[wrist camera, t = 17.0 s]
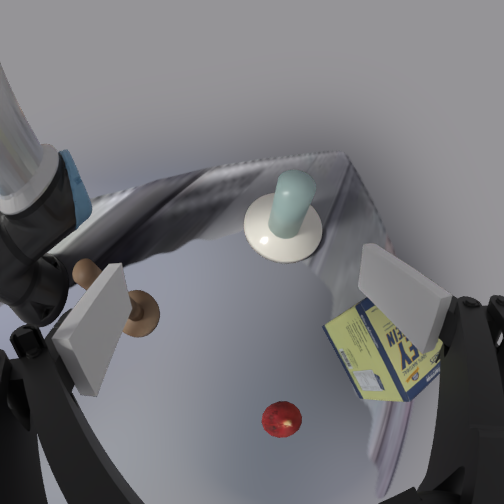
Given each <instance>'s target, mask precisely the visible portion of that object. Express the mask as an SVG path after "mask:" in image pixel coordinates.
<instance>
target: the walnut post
mask: <svg viewBox="0 0 504 504" xmlns="http://www.w3.org/2000/svg"><path fill="white" fill-rule="evenodd" d="M101 273H102V270H101V269H100V268H99V267H98V266H97V265H96V264H94V263H93V262H92V261H91V260H90V259H81V260H80V261H78V262H77V263H76V265H75V266H74V268H73V279H74V281H75V282H76V283H77V284H79V285H80V286H81V287H83V288H84V289H86V290H88V289H89V287H90V286H91V285H92V284H93V282H94V281H95V280H96V279H97V278H98V276H99V275H100V274H101ZM128 294H129V298H130V302H131V306H132V311H131V313H130V315H129V317H128V320H127V322H126V324H125V327H124V329H123V332H124V333H126V334H127V335H130V336H132V337H144V336H147V335H148V334H150V333H151V332H152V331H153V330H154V329H155V328H156V326H157V325H158V322H159V318H160V311H159V306H158V304H157V302H156V301H155V299H154V298H153V297H152V296H151V295H149V294H148V293H146V292H144V291H141V290H134V291H130V292H128Z"/></svg>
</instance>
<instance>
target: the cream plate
mask: <svg viewBox="0 0 504 504" xmlns="http://www.w3.org/2000/svg"><path fill="white" fill-rule="evenodd" d="M274 195H275V193H270V194H266V195H264V196H261V197H260V198H258V199H257V200H255V201H254V202H253V203H252V204H251V205H250V206H249V208H248V210H247V212H246V214H245V219H244V233H245V236H246V239H247V241H248V243H249V244H250V246H251V247H252V248H253V249H254V250H255V251H256V252H257V253H258V254H259V255H261V256H262V257H264V258H265V259H268V260H270V261H273V262H276V263H285V264H289V263H296V262H299V261H302V260H304V259H306V258H307V257H309V256H310V255H311V254H312V253H313V252H314V251H315V250H316V248H317V247H318V245H319V243H320V241H321V238H322V223H321V220H320V217H319V215H318V214H317V212H316V211H315V209H314V208H313V207H312V206H311V205H310V206H309V208H308V211H307V213H306V216H305V218H304V220H303V223H302V225H301V227H300V229H299V232H298V233H297V235H295V236H294V237H292V238H289V239H283V238H279V237H277V236H275V235H274V234H273V233H272V232H271V231H270V229H269V226H268V221H269V217H270V213H271V208H272V204H273V199H274Z"/></svg>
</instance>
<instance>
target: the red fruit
mask: <svg viewBox="0 0 504 504" xmlns="http://www.w3.org/2000/svg"><path fill="white" fill-rule="evenodd" d="M301 423H302V416H301V414H300V411H299V409H298V408H297V407H296V406H295V405H294V404H291V403H289V402H287V401H282V402H281V401H279V402H277V403H274V404H271V405H270V406H269V407H267V408H266V410H265V411H264V413H263V416H262V424H263V427H264V430H265V431H267V432H268V433H269V434H270V435H271V436H275V437H278V438H280V437H288V436H290V435H292V434H294V433H295V432H296V431H298V430H299V428H300V425H301Z"/></svg>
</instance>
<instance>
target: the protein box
mask: <svg viewBox="0 0 504 504" xmlns="http://www.w3.org/2000/svg"><path fill="white" fill-rule="evenodd" d="M322 328H323V330H324V331H325V333H326V335H327V337H328V339H329V341H330V342H331V344H332V346H333V348H334V350H335V352H336V354H337V356H338V358H339V359H340V361H341V363H342V365H343V367H344V369H345V371H346V373H347V375H348V377H349V379H350V381H351V382H352V384H353V386H354V388H355V390H356V392H357V394H358V396H359V398H361V399H371V400H384V401H403V402H410V401H412V400H413V399H414V398H415V397H416V396H417V395H418V394H419V393H420V392H421V391H422V390H423V389H424V388H425V387H426V386H427V385H428V384H429V383H430V382H431V381H432V380H433V379H435V378H436V377H437V375H438V374H440V359H439V360H438V362H437V363H435V361H436V358H437V356H438V354H439V351H440V349H441V346H442V344H443V342H442V341H441V340H440V339H439V338H438V341H437V344H436V346H435V349H434V350H432V351H430V352H427V353H424V354H422V353H421V352H420V351H419V350H418V349H417V348H416V347H415V346H414V345H413V344H412V343H411V342H410V341H409V339H408V338H407V337H406V336H405V335H404V334H403V333H402V332H401V331H400V330H399V329H398V328H397V327H396V326H395V325H394V324H393V323H392V322H391V321H390V320H389V319H388V318H387V316H386V315H385V314H384V313H383V312H382V311H381V310H380V309H379V308H378V307H377V306H376V305H375V304H374V303H373V302H372V301H371V300H370V299H369V298H368V297H366V298H365V299H363V300H362V301H360V302H359V303H357V304H356V305H354V306H353V307H351V308H350V309H348V310H346V311H345V312H343V313H342V314H340V315H339V316H337V317H336V318H334V319H333V320H331V321H330V322H328V323H327V324H325V325H323V326H322Z"/></svg>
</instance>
